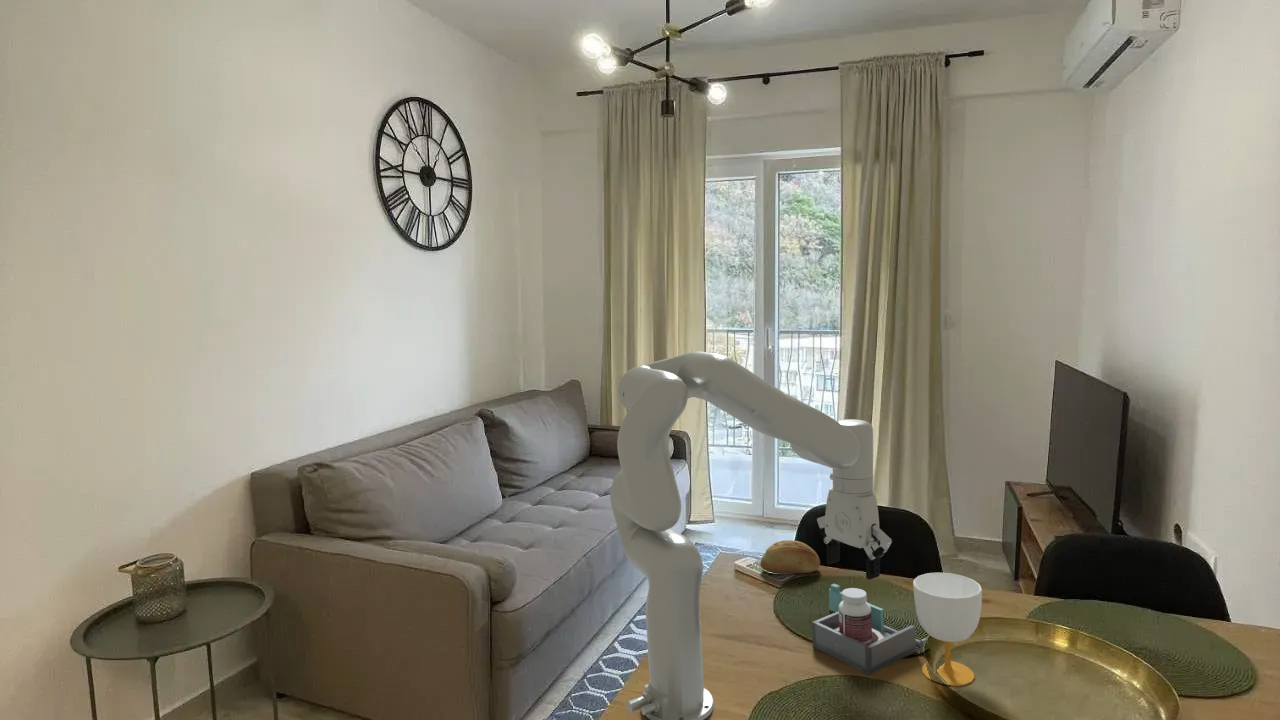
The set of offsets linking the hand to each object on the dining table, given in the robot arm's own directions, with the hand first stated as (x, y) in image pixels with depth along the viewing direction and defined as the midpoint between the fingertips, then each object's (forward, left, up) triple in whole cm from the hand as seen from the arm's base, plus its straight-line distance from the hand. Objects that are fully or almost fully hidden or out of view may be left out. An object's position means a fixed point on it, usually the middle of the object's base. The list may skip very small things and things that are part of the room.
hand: (852, 570), depth 144 cm
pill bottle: (0, 0, -16) cm, 16 cm away
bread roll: (+20, +37, -17) cm, 45 cm away
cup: (+7, -16, -17) cm, 24 cm away
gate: (+11, +9, -17) cm, 22 cm away
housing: (+4, 0, -17) cm, 17 cm away
